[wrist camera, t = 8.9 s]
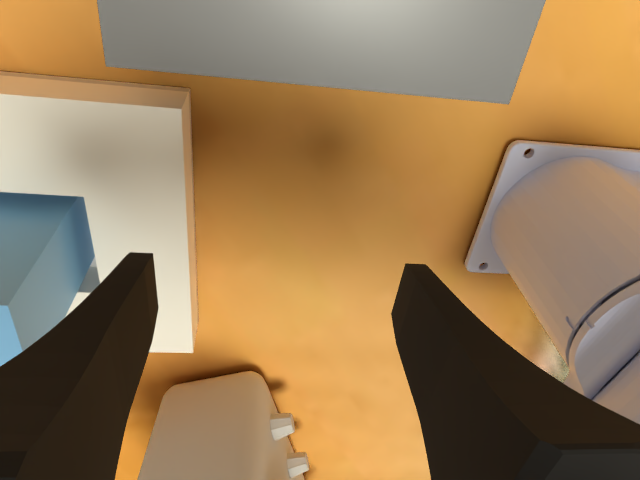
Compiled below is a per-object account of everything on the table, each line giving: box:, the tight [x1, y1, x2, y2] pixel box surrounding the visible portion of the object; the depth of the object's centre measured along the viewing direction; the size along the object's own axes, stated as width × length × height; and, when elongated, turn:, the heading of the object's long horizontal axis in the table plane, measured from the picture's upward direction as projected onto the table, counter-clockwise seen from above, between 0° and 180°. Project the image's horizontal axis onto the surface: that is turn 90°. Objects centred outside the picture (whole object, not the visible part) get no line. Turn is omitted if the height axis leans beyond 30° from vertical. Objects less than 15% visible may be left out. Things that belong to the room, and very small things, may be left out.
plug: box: [0, 192, 95, 366], centre depth 20 cm, size 4×5×8 cm
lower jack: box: [0, 71, 199, 353], centre depth 23 cm, size 14×14×2 cm
